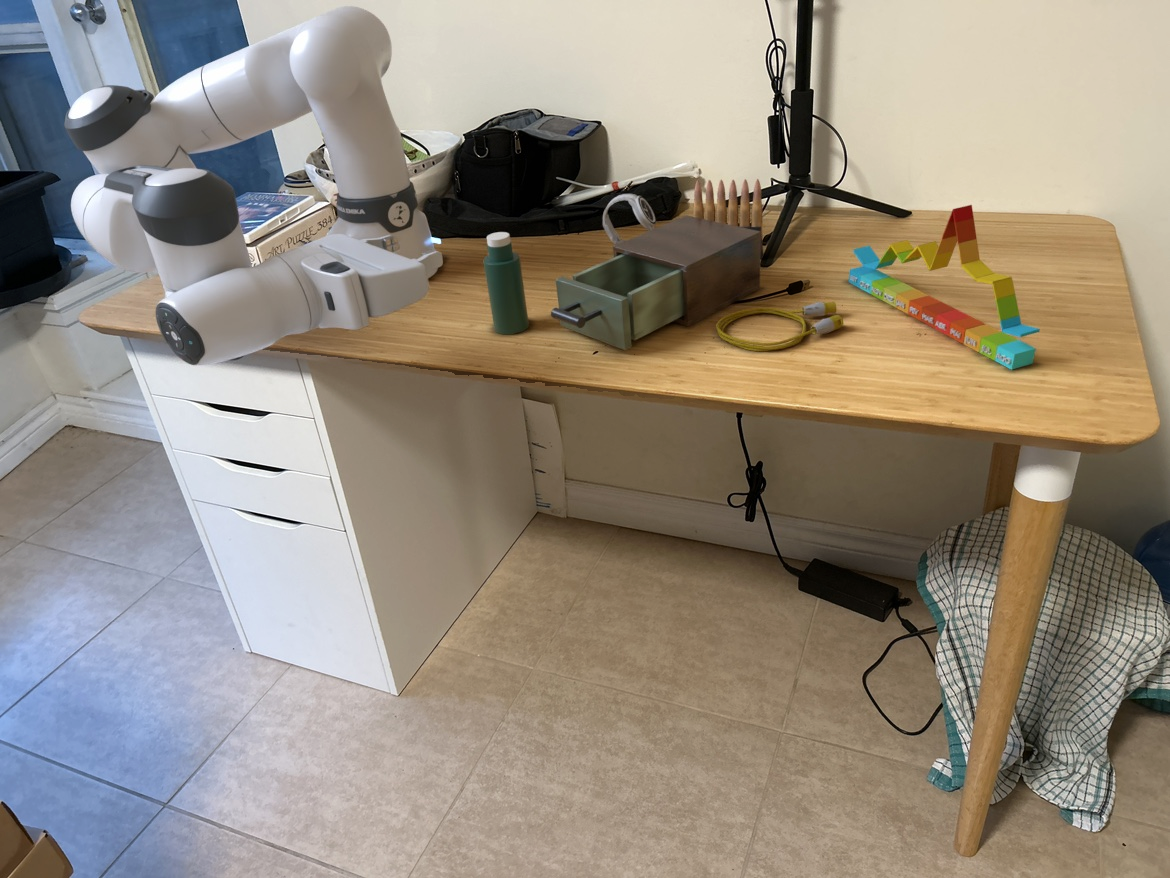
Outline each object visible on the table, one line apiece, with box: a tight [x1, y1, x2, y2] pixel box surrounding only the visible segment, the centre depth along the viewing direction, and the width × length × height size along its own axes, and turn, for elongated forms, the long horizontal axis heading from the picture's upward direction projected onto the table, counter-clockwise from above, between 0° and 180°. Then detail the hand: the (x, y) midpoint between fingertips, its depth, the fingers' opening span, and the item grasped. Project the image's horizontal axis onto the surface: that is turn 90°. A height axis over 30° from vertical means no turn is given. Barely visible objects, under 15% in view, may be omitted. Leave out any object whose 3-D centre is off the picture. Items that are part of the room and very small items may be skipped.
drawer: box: [550, 254, 684, 351], centre depth 111 cm, size 19×12×7 cm, turn 133°
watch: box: [602, 193, 657, 246], centre depth 130 cm, size 6×8×11 cm
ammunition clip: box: [692, 178, 764, 260], centre depth 129 cm, size 11×2×12 cm, turn 75°
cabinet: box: [612, 215, 761, 327], centre depth 118 cm, size 15×13×8 cm
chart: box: [848, 204, 1041, 371], centre depth 104 cm, size 30×3×15 cm, turn 21°
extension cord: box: [715, 301, 845, 352], centre depth 108 cm, size 12×16×2 cm
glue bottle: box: [482, 231, 530, 335], centre depth 114 cm, size 5×5×13 cm
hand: (416, 249), depth 103 cm, fingers open, 8 cm apart
